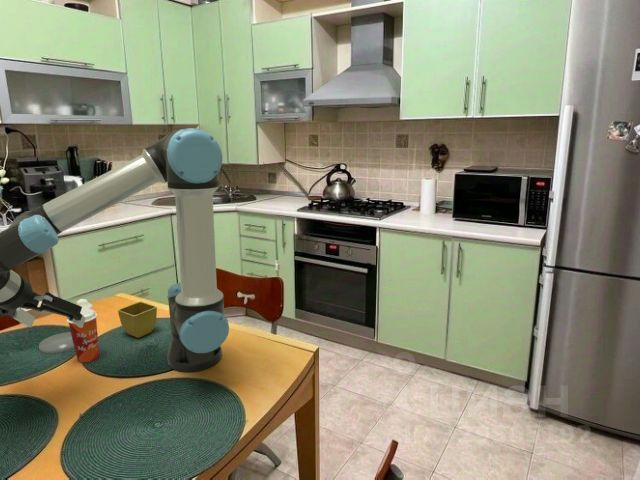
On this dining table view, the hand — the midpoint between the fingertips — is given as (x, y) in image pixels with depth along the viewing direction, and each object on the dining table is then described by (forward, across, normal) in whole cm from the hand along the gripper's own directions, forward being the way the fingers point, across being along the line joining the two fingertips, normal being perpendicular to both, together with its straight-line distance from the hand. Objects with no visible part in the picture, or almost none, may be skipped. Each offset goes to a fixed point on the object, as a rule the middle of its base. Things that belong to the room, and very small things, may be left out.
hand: (57, 322), depth 115 cm
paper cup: (+19, 0, -4) cm, 19 cm away
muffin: (+39, -17, +16) cm, 45 cm away
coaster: (+24, -13, +2) cm, 28 cm away
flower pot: (+30, +9, +7) cm, 32 cm away
